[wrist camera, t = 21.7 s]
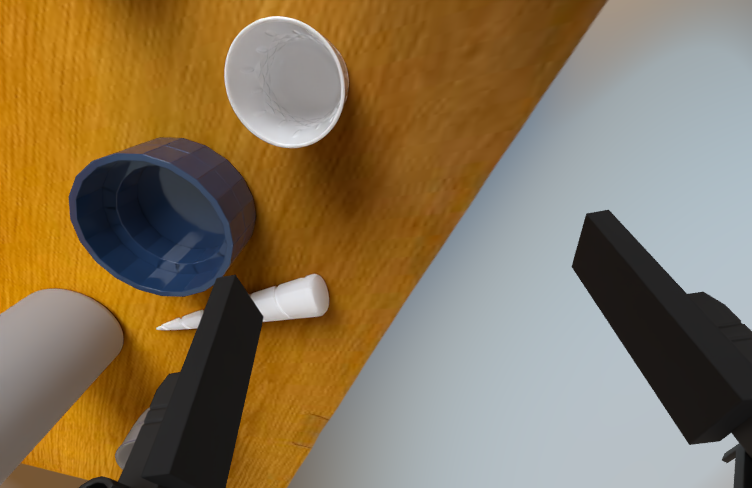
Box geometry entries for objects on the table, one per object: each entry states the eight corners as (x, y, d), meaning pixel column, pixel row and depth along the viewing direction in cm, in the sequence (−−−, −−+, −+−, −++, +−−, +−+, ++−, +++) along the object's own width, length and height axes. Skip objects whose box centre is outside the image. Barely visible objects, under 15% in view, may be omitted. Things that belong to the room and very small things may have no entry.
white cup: (371, 60, 31) (366, 61, 22) (332, 139, 34) (314, 168, 25) (288, 8, 29) (247, -13, 20) (256, 97, 33) (209, 112, 24)
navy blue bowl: (246, 138, 34) (215, 155, 28) (264, 262, 41) (243, 298, 35) (102, 134, 35) (41, 151, 28) (144, 259, 41) (102, 294, 35)
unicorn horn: (142, 303, 44) (116, 329, 40) (320, 265, 41) (313, 288, 37) (162, 331, 46) (139, 359, 42) (333, 297, 43) (327, 323, 39)
